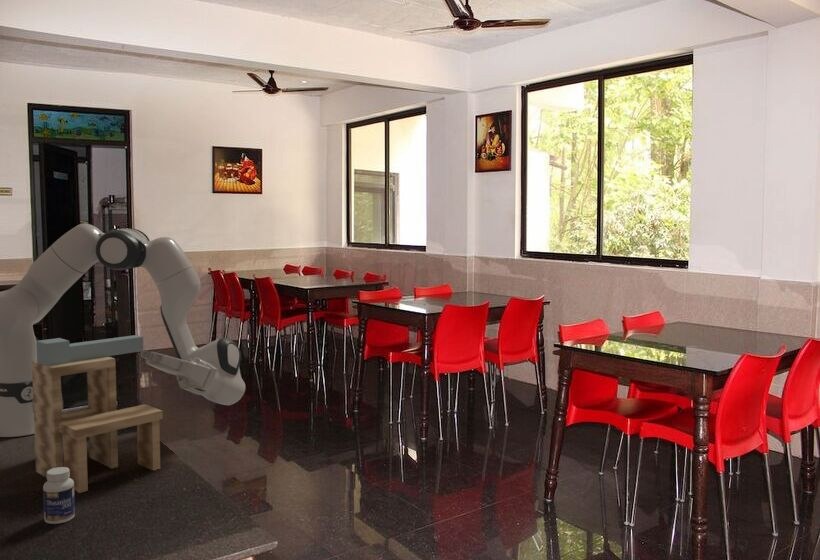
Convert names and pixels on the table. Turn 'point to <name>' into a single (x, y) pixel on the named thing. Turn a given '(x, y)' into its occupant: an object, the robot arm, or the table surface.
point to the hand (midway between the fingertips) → (152, 355)
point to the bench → (108, 422)
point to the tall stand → (51, 415)
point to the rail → (85, 349)
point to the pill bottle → (58, 496)
